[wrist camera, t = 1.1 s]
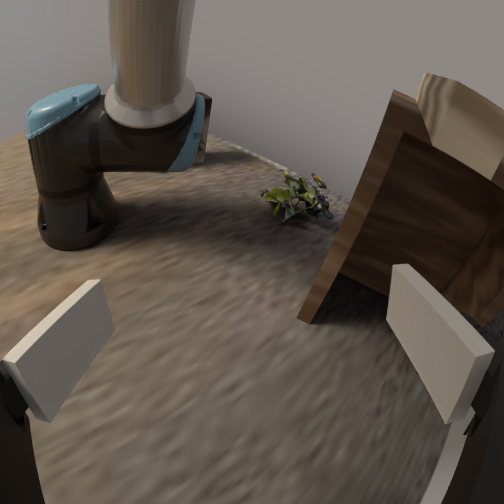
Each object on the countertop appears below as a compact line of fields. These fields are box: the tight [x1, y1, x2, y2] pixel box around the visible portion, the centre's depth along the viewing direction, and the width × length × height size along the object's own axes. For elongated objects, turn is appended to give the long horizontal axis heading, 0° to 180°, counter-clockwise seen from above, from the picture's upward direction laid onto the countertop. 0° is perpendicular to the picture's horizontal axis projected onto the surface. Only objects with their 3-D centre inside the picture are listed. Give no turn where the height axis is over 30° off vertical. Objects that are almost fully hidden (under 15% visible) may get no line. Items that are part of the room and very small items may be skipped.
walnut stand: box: [297, 90, 504, 374], centre depth 34 cm, size 14×22×30 cm, turn 63°
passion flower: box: [260, 171, 333, 224], centre depth 56 cm, size 11×11×12 cm
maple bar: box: [415, 73, 504, 180], centre depth 20 cm, size 24×4×4 cm, turn 153°
